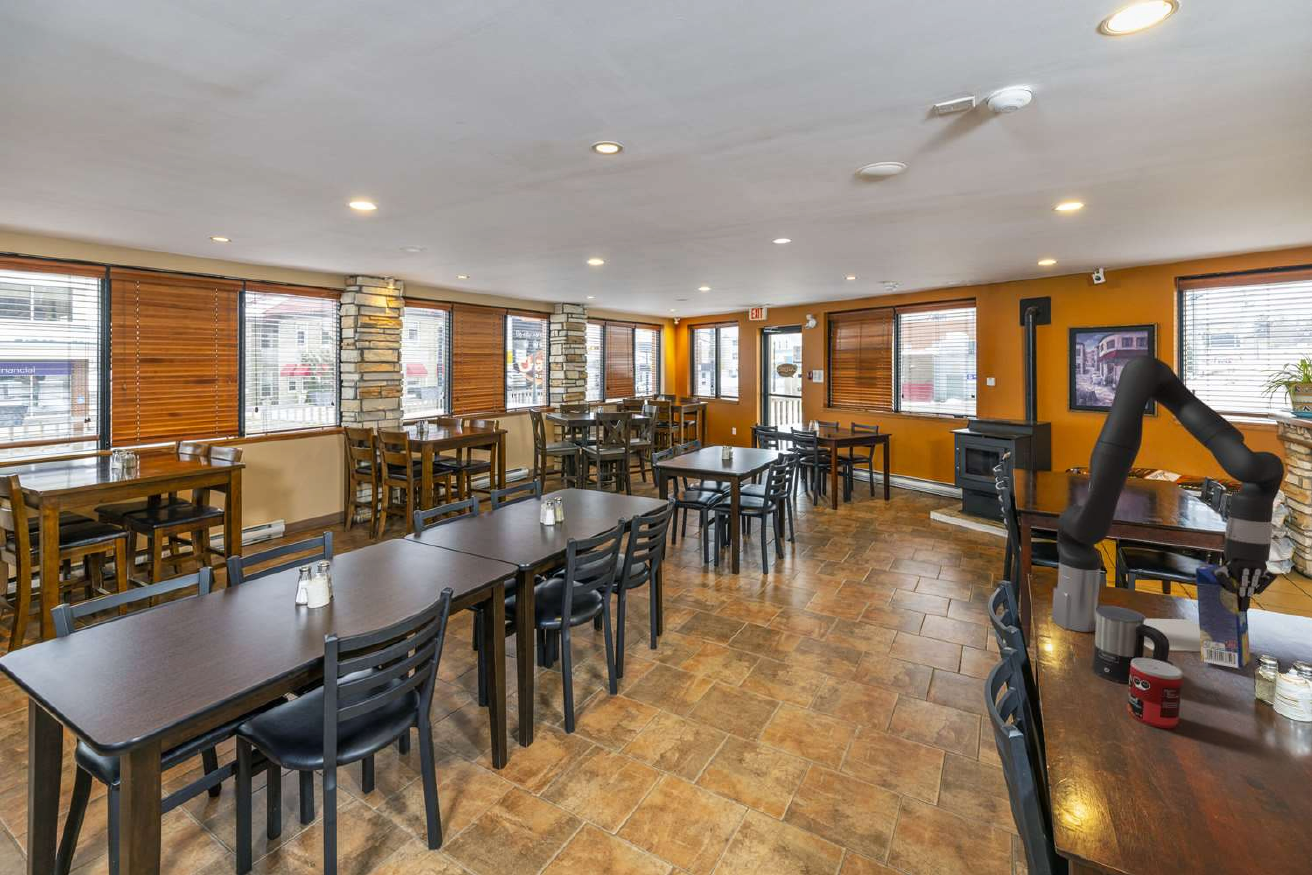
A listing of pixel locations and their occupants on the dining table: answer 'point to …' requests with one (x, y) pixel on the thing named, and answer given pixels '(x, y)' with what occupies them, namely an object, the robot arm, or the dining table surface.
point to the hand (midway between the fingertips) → (1239, 610)
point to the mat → (1177, 634)
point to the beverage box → (1220, 621)
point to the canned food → (1154, 692)
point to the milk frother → (1123, 642)
